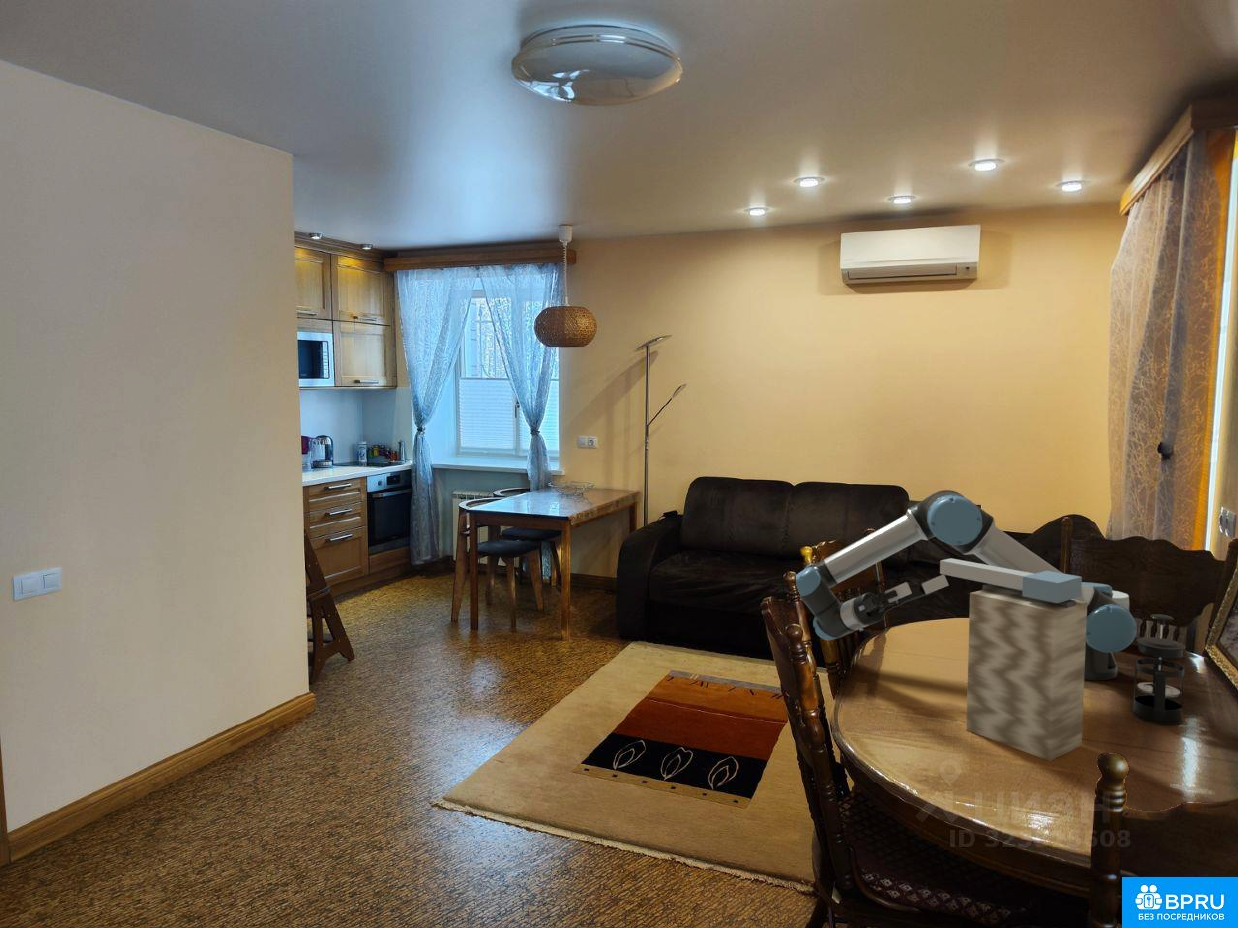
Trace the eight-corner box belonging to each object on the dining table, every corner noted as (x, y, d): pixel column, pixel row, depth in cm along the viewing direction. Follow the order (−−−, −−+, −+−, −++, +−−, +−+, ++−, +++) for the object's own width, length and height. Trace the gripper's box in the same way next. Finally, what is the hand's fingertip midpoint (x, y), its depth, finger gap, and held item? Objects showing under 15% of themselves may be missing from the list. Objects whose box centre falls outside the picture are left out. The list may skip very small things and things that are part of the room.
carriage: (933, 577, 178) (933, 559, 178) (957, 571, 183) (957, 554, 183) (1057, 603, 155) (1058, 583, 155) (1081, 596, 160) (1081, 576, 160)
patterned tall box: (966, 729, 172) (970, 588, 169) (998, 716, 178) (1002, 580, 176) (1050, 760, 157) (1055, 606, 154) (1081, 745, 163) (1087, 597, 161)
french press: (1131, 704, 184) (1135, 607, 182) (1181, 712, 179) (1186, 612, 177) (1132, 722, 174) (1137, 619, 172) (1185, 731, 169) (1190, 625, 167)
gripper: (901, 617, 207) (966, 591, 191) (834, 633, 193) (898, 607, 177) (889, 590, 209) (953, 562, 193) (823, 604, 196) (885, 575, 180)
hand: (927, 583), depth 185 cm, fingers open, 13 cm apart
